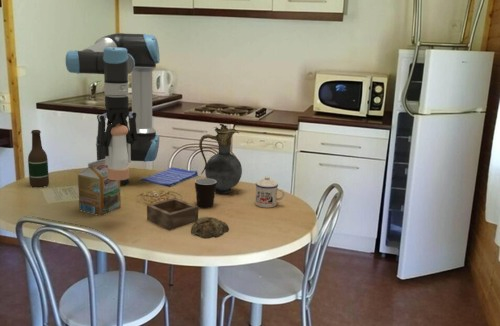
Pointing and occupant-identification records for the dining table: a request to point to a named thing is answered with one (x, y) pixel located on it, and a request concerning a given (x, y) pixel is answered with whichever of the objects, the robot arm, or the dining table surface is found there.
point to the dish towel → (170, 177)
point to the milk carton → (98, 189)
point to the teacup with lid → (267, 193)
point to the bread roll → (209, 227)
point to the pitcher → (222, 161)
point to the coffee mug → (205, 192)
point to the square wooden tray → (172, 213)
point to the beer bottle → (38, 162)
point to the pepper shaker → (119, 154)
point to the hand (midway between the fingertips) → (118, 163)
